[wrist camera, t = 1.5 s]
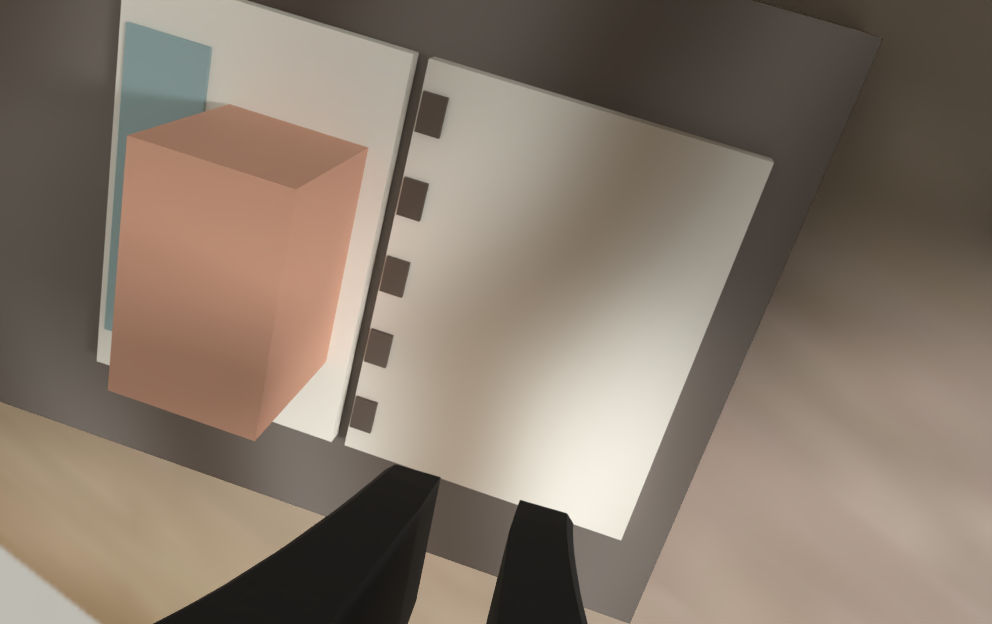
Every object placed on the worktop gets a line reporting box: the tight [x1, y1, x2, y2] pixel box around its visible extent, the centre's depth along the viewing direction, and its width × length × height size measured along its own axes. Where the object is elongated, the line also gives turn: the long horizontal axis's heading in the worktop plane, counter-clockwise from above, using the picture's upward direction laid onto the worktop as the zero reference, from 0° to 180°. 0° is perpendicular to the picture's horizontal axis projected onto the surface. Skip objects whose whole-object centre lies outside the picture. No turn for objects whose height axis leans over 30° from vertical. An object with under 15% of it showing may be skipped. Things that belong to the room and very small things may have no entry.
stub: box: [97, 0, 419, 442], centre depth 17 cm, size 6×9×4 cm, turn 165°
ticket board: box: [0, 0, 883, 624], centre depth 19 cm, size 22×14×2 cm, turn 75°
